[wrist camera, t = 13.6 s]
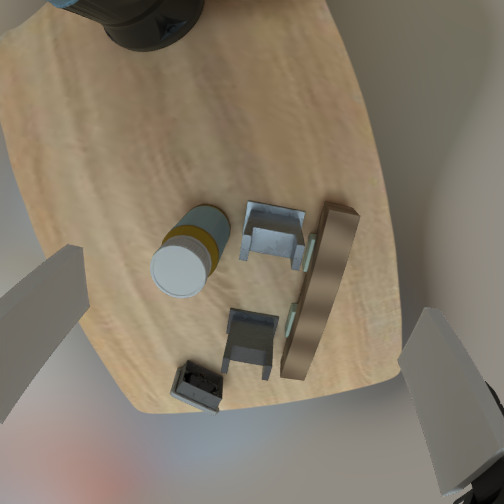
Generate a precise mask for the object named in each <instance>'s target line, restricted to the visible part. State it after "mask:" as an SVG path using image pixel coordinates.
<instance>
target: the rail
mask: <svg viewBox="0 0 504 504" xmlns="http://www.w3.org/2000/svg"><path fill="white" fill-rule="evenodd" d="M359 219H360V215H359V214H358V213H357V212H356V211H355V210H354V208H351V207H347V206H343V205H338V204H334V203H329V202H324V207H323V211H322V215H321V219H320V223H319V227H318V231H317V235H316V239H315V243H314V247H313V250H312V254H311V258H310V262H309V266H308V269H307V273H306V277H305V280H304V284H303V288H302V291H301V295H300V298H299V302H298V305H297V309H296V312H295V315H294V319H293V322H292V326H291V329H290V332H289V336H288V339H287V342H286V345H285V349H284V352H283V355H282V358H281V366H280V377H281V378H288V379H296V380H305V377H306V375H307V372H308V370H309V367H310V365H311V362H312V360H313V357H314V355H315V352H316V350H317V347H318V344H319V342H320V339H321V336H322V334H323V331H324V328H325V326H326V323H327V320H328V317H329V314H330V312H331V309H332V306H333V303H334V300H335V297H336V294H337V291H338V288H339V285H340V282H341V279H342V276H343V273H344V270H345V267H346V263H347V260H348V257H349V254H350V250H351V247H352V244H353V240H354V237H355V233H356V230H357V226H358V223H359Z"/></svg>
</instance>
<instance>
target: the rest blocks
mask: <svg viewBox="0 0 504 504" xmlns="http://www.w3.org/2000/svg"><path fill="white" fill-rule="evenodd" d="M316 235H317V234H312V233H310V236H309V240H308V244H307V248H306V252H305V256H304V260H303V264H302V265H303V271H304V272H307V269H308V266H309V262H310V258H311V254H312V250H313V247H314V243H315V239H316ZM297 305H298V304H294V303H292V305H291V308H290V312H289V315H288V319H287V322H286V326H285V337H288V336H289V332H290V329H291V326H292V322H293V319H294V315H295V312H296V309H297Z"/></svg>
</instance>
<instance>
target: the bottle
mask: <svg viewBox="0 0 504 504" xmlns="http://www.w3.org/2000/svg"><path fill="white" fill-rule="evenodd" d="M229 235H230V224H229V221H228V218H227V217H226V215H225V214H224V213H223V212H222V211H221V210H219V209H218V208H216V207H214V206H211V205H200V206H197V207H194V208H193V209H192V210H190V211H189V212H188V213H187V214H186V215H185V216H184V217H183V218H182V219H181V220H180V221H179V222H178V223H177V224H176V225H175V226H174V227H173V228H172V229H171V231H170V232H169V233H168V234H167V235H166V237H165V238H164V240H163V242H162V245H161V247H160V248H159V249H158V250H157V251H156V252H155V254H154V255H153V257H152V260H151V264H150V272H151V276H152V279H153V281H154V282H155V284H156V285H157V287H158V288H159V289H160V290H161V291H163V292H164V293H166V294H167V295H170V296H172V297H176V298H189V297H192V296H194V295H196V294H197V293H199V291H201V289H202V288H203V287H204V285H205V283H206V280H207V278H208V277H209V276H210V275H211V274H212V273H213V272H214V270H215V269H216V267H217V264H218V262H219V260H220V257H221V255H222V252H223V250H224V248H225V245H226V243H227V241H228V238H229Z"/></svg>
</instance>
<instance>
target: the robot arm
mask: <svg viewBox="0 0 504 504" xmlns="http://www.w3.org/2000/svg"><path fill="white" fill-rule="evenodd" d="M46 1H48V2H50V3H51V4H52V5H53V6H55V7H57V8H62V9H65V10H67V11H70V12H73V13H76V14H78V15H81V16H83V17H86V18H89V19H91V20H94V21H96V22H98V23H101V24H102V25H103V26H104V29H105V31H106V33H107V35H108V36H109V38H110V39H111V40H112V41H114V42H115V43H116V44H118V45H120V46H122V47H124V48H127V49H129V50H133V51H139V52H147V51H154V50H158V49H161V48H164V47H166V46H168V45H170V44H172V43H174V42H176V41H177V40H179V39H180V38H182V37H183V36H184V35H185V34H186V33H187V32H188V31H189V30H190V29H191V28H192V27H193V26H194V25H195V23H196V22H197V20H198V19H199V17H200V15H201V12H202V10H203V6H204V0H46ZM89 307H90V305H89V299H88V291H87V284H86V276H85V267H84V256H83V247H78V246H74V245H69V244H67V245H66V246H64V247H63V248H62V249H60V250H59V251H58V252H56V253H55V254H54V255H52V256H51V257H50V258H48V259H47V260H46V261H45V262H43V263H42V264H41V265H40V266H38V267H37V268H36V269H35V270H33V271H32V272H31V273H30V274H28V275H27V276H26V277H25V278H23V279H22V280H21V281H20V282H19V283H17V284H16V285H15V286H14V287H13V288H12V289H11V290H10V291H8V292H7V293H6V294H5V295H4V296H2V297H1V298H0V423H1V424H3V422H4V420H5V419H6V417H7V416H8V414H9V413H10V411H11V410H12V408H13V407H14V406H15V404H16V403H17V401H18V400H19V398H20V397H21V395H22V394H23V393H24V391H25V390H26V388H27V387H28V386H29V384H30V383H31V381H32V380H33V379H34V377H35V376H36V374H37V373H38V372H39V370H40V369H41V368H42V366H43V365H44V364H45V362H46V361H47V360H48V358H49V357H50V356H51V354H52V353H53V352H54V351H55V349H56V348H57V347H58V345H59V344H60V343H61V342H62V340H63V339H64V338H65V337H66V335H67V334H68V333H69V332H70V330H71V329H72V328H73V327H74V325H75V324H76V323H77V322H78V321H79V319H80V318H81V317H82V316H83V314H84V313H85V312H86V311H87V310H88V308H89ZM398 363H399V366H400V368H401V371H402V373H403V376H404V379H405V381H406V384H407V387H408V389H409V392H410V395H411V398H412V401H413V403H414V406H415V409H416V412H417V415H418V418H419V421H420V424H421V427H422V430H423V433H424V436H425V440H426V443H427V446H428V449H429V452H430V456H431V459H432V463H433V467H434V470H435V474H436V478H437V481H438V485H439V488H440V493H441V497H442V496H446V495H449V494H453V493H457V492H459V491H461V490H462V489H464V488H465V487H466V486H467V485H469V484H470V483H471V484H472V488H473V489H471V490H470V491H469V492H467V493H466V494H464V495H463V496H462V497H460V498H459V499H457V500H456V501H455V502H454V503H453V504H459V503H460V502H462V501H463V500H464V502H463V504H504V408H503V406H502V404H500V400H499V398H498V396H497V395H496V393H495V391H494V390H493V389H492V388H491V387H490V386H489V384H488V383H487V382H486V381H484V379H483V377H482V376H481V374H480V372H479V371H478V369H477V367H476V365H475V364H474V362H473V360H472V359H471V357H470V355H469V354H468V352H467V350H466V349H465V348H464V346H463V344H462V342H461V341H460V339H459V338H458V336H457V335H456V333H455V331H454V330H453V329H452V327H451V326H450V324H449V322H448V321H447V319H446V318H445V317H444V315H443V313H442V312H441V311H440V309H436V308H428V307H425V308H424V309H423V312H422V314H421V316H420V318H419V320H418V322H417V324H416V326H415V328H414V330H413V332H412V334H411V336H410V338H409V340H408V342H407V343H406V345H405V347H404V349H403V351H402V353H401V354H400V356H399V358H398Z"/></svg>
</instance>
